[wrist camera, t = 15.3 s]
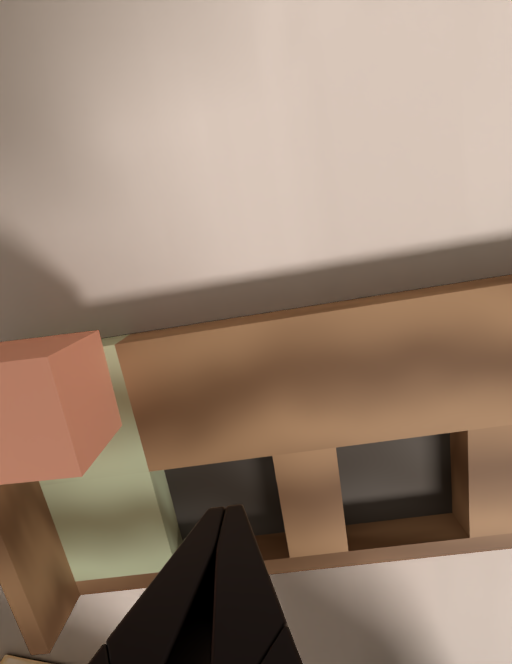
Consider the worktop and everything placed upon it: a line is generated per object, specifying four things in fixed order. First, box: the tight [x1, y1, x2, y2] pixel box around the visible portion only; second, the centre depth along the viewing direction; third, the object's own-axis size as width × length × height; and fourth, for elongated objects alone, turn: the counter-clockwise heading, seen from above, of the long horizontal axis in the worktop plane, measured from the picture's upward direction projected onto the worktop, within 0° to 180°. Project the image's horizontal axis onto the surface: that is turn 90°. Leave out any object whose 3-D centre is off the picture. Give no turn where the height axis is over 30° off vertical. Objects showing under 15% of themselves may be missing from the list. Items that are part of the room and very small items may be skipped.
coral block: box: [0, 330, 122, 485], centre depth 15 cm, size 5×5×4 cm
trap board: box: [0, 275, 512, 655], centre depth 17 cm, size 14×31×5 cm, turn 99°
